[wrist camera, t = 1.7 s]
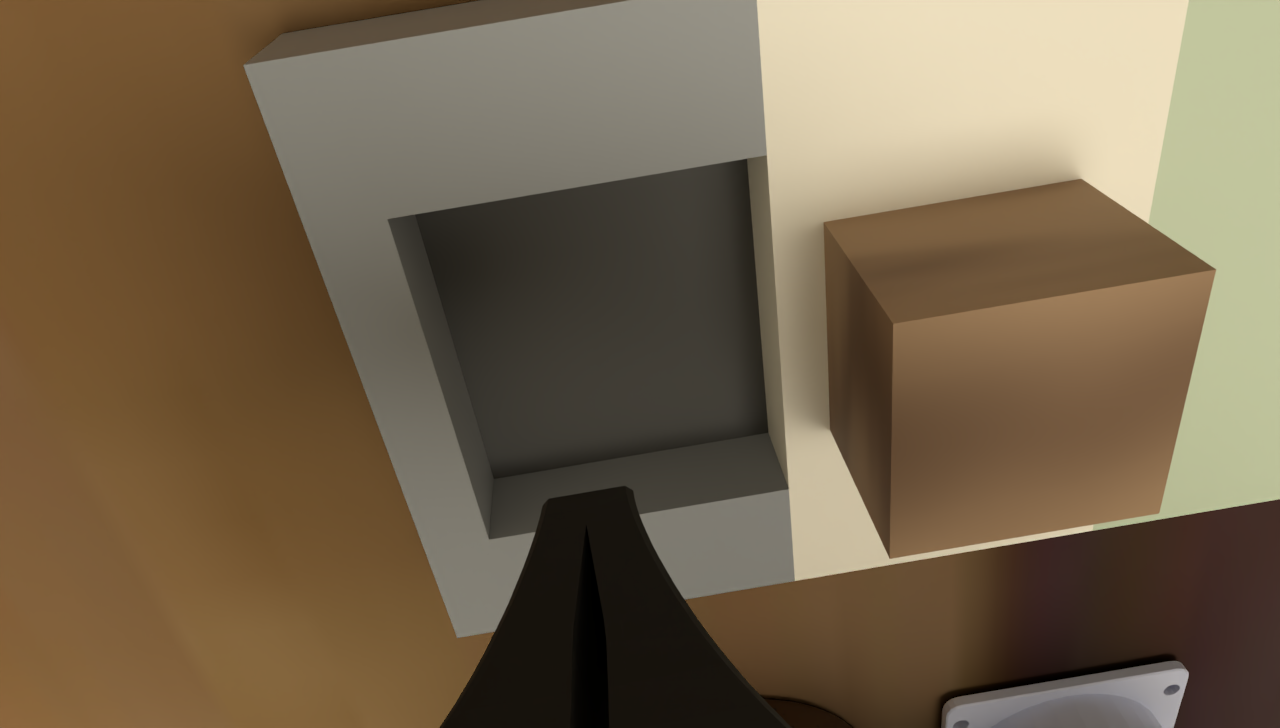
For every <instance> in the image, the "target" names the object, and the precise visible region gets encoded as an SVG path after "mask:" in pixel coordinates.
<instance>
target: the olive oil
mask: <svg viewBox="0 0 1280 728" xmlns="http://www.w3.org/2000/svg"><path fill="white" fill-rule="evenodd" d="M764 700H765V701H766V702H767V703H768V704H769V705H770V706H771V707H772V708H773V709H774V710H775V711H776V712H777V713H778V714H779V715H780V716H781V717H782V718H783V719H784V720H785V721H786V722H787V723H788V724H789V725H790V726H791V727H792V728H852V727H851V726H850V725H849V724H847V723H846V722H845V721H843V720H842V719H840V718H838V717H837V716H835V715H833V714H831V713H828V712H826V711H824V710H821V709H819V708H816V707H813V706H809V705H806V704H802V703H797V702H791V701H784V700H771V699H764Z"/></svg>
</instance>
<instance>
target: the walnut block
mask: <svg viewBox="0 0 1280 728" xmlns="http://www.w3.org/2000/svg"><path fill="white" fill-rule="evenodd" d="M824 253H825V285H826V317H827V349H828V380H829V412H830V431H831V433H832V435H833V438H834V440H835V442H836V444H837V446H838V448H839V451H840V453H841V455H842V457H843V459H844V461H845V464H846V466H847V468H848V470H849V472H850V474H851V477H852V479H853V481H854V483H855V485H856V487H857V489H858V492H859V494H860V496H861V498H862V500H863V502H864V505H865V507H866V509H867V511H868V513H869V515H870V518H871V520H872V522H873V524H874V526H875V528H876V531H877V533H878V535H879V537H880V539H881V541H882V543H883V546H884V548H885V550H886V552H887V554H888V556H889V559H892V558H898V557H904V556H910V555H916V554H922V553H928V552H934V551H940V550H946V549H952V548H958V547H964V546H969V545H975V544H981V543H987V542H993V541H999V540H1005V539H1011V538H1017V537H1023V536H1029V535H1035V534H1041V533H1046V532H1052V531H1058V530H1064V529H1070V528H1076V527H1082V526H1088V525H1094V524H1100V523H1106V522H1112V521H1118V520H1123V519H1129V518H1135V517H1141V516H1147V515H1153V514H1159V512H1160V508H1161V504H1162V500H1163V495H1164V491H1165V487H1166V482H1167V478H1168V474H1169V470H1170V465H1171V461H1172V457H1173V452H1174V448H1175V444H1176V440H1177V435H1178V431H1179V427H1180V422H1181V418H1182V414H1183V410H1184V405H1185V401H1186V397H1187V393H1188V388H1189V384H1190V380H1191V375H1192V371H1193V367H1194V363H1195V358H1196V354H1197V350H1198V345H1199V341H1200V337H1201V333H1202V328H1203V324H1204V320H1205V315H1206V311H1207V307H1208V303H1209V298H1210V294H1211V290H1212V286H1213V281H1214V277H1215V273H1216V269H1215V268H1213V267H1212V266H1210V265H1209V264H1207V263H1206V262H1204V261H1203V260H1201V259H1200V258H1198V257H1197V256H1196V255H1194V254H1193V253H1191V252H1190V251H1188V250H1187V249H1185V248H1184V247H1182V246H1181V245H1179V244H1178V243H1176V242H1175V241H1173V240H1172V239H1170V238H1169V237H1167V236H1166V235H1164V234H1163V233H1161V232H1160V231H1158V230H1157V229H1155V228H1154V227H1152V226H1151V225H1149V224H1148V223H1147V222H1145V221H1144V220H1142V219H1141V218H1139V217H1138V216H1136V215H1135V214H1133V213H1132V212H1130V211H1129V210H1127V209H1126V208H1124V207H1123V206H1121V205H1120V204H1118V203H1117V202H1115V201H1114V200H1112V199H1111V198H1109V197H1108V196H1106V195H1105V194H1103V193H1102V192H1101V191H1099V190H1098V189H1096V188H1095V187H1093V186H1092V185H1090V184H1089V183H1087V182H1086V181H1084V180H1083V179H1077V180H1071V181H1065V182H1059V183H1053V184H1047V185H1041V186H1035V187H1029V188H1023V189H1017V190H1011V191H1005V192H999V193H994V194H988V195H982V196H976V197H970V198H964V199H958V200H952V201H946V202H940V203H934V204H928V205H922V206H916V207H910V208H904V209H898V210H892V211H887V212H881V213H875V214H869V215H863V216H857V217H851V218H845V219H839V220H833V221H827V222H824Z"/></svg>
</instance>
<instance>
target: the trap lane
mask: <svg viewBox="0 0 1280 728" xmlns="http://www.w3.org/2000/svg"><path fill="white" fill-rule="evenodd" d="M243 66H244V69H245V71H246V74H247V77H248V79H249V82H250V85H251V87H252V90H253V93H254V95H255V98H256V101H257V103H258V106H259V109H260V111H261V114H262V117H263V119H264V122H265V125H266V127H267V130H268V133H269V135H270V138H271V141H272V143H273V146H274V149H275V151H276V154H277V157H278V159H279V162H280V165H281V167H282V170H283V173H284V176H285V178H286V181H287V184H288V186H289V189H290V192H291V194H292V197H293V200H294V202H295V205H296V208H297V210H298V213H299V216H300V218H301V221H302V224H303V226H304V229H305V232H306V234H307V237H308V240H309V242H310V245H311V248H312V250H313V253H314V256H315V258H316V261H317V264H318V266H319V269H320V272H321V274H322V277H323V280H324V283H325V285H326V288H327V291H328V293H329V296H330V299H331V301H332V304H333V307H334V309H335V312H336V315H337V317H338V320H339V323H340V325H341V328H342V331H343V333H344V336H345V339H346V341H347V344H348V347H349V349H350V352H351V355H352V357H353V360H354V363H355V365H356V368H357V371H358V373H359V376H360V379H361V381H362V384H363V387H364V390H365V392H366V395H367V398H368V400H369V403H370V406H371V408H372V411H373V414H374V416H375V419H376V422H377V424H378V427H379V430H380V432H381V435H382V438H383V440H384V443H385V446H386V448H387V451H388V454H389V456H390V459H391V462H392V464H393V467H394V470H395V472H396V475H397V478H398V480H399V483H400V486H401V488H402V491H403V494H404V496H405V499H406V502H407V505H408V507H409V510H410V513H411V515H412V518H413V521H414V523H415V526H416V529H417V531H418V534H419V537H420V539H421V542H422V545H423V547H424V550H425V553H426V555H427V558H428V561H429V563H430V566H431V569H432V571H433V574H434V577H435V579H436V582H437V585H438V587H439V590H440V593H441V595H442V598H443V601H444V603H445V606H446V609H447V612H448V614H449V617H450V620H451V622H452V625H453V628H454V630H455V633H456V636H457V638H460V637H466V636H472V635H478V634H484V633H489V632H495V630H496V628H497V626H498V624H499V622H500V620H501V618H502V616H503V614H504V612H505V610H506V608H507V605H508V603H509V601H510V598H511V596H512V593H513V591H514V589H515V586H516V584H517V581H518V579H519V576H520V574H521V572H522V569H523V567H524V564H525V561H526V558H527V556H528V553H529V550H530V547H531V544H532V541H533V538H534V535H535V532H536V529H537V525H538V522H539V518H540V515H541V510H542V506H543V504H544V503H545V502H546V501H547V500H548V499H549V498H555V497H561V496H567V495H573V494H579V493H585V492H591V491H596V490H602V489H608V488H614V487H620V486H627V487H628V488H630V489H632V490H633V492H634V497H635V502H636V506H637V509H638V512H639V515H640V518H641V520H642V523H643V525H644V527H645V530H646V532H647V534H648V536H649V538H650V541H651V543H652V545H653V547H654V549H655V551H656V552H657V554H658V556H659V558H660V560H661V562H662V563H663V565H664V567H665V569H666V570H667V572H668V574H669V575H670V577H671V579H672V581H673V582H674V584H675V586H676V587H677V589H678V590H679V592H680V594H681V595H682V597H683V598H684V600H685V599H691V598H697V597H703V596H709V595H715V594H721V593H726V592H732V591H738V590H744V589H750V588H756V587H762V586H768V585H774V584H780V583H786V582H792V581H798V580H803V579H809V578H815V577H821V576H827V575H833V574H839V573H845V572H851V571H857V570H863V569H869V568H875V567H880V566H886V565H892V564H898V563H904V562H910V561H916V560H922V559H928V558H934V557H940V556H946V555H952V554H957V553H963V552H969V551H975V550H981V549H987V548H993V547H999V546H1005V545H1011V544H1017V543H1023V542H1029V541H1034V540H1040V539H1046V538H1052V537H1058V536H1064V535H1070V534H1076V533H1082V532H1088V531H1094V530H1100V529H1106V528H1111V527H1117V526H1123V525H1129V524H1135V523H1141V522H1147V521H1153V520H1159V519H1165V518H1171V517H1177V516H1183V515H1188V514H1194V513H1200V512H1206V511H1212V510H1218V509H1224V508H1230V507H1236V506H1242V505H1248V504H1254V503H1260V502H1265V501H1271V500H1277V499H1280V0H479V1H473V2H467V3H461V4H456V5H450V6H444V7H438V8H432V9H426V10H420V11H414V12H408V13H402V14H396V15H390V16H384V17H378V18H372V19H366V20H360V21H354V22H348V23H342V24H336V25H330V26H324V27H318V28H312V29H307V30H301V31H295V32H289V33H283V34H281V35H280V36H279V37H277V38H276V39H275V40H274V41H272V42H271V43H270V44H269V45H267V46H266V47H265V48H264V49H263V50H261V51H260V52H259V53H258V54H256V55H255V56H254V57H253V58H251V59H250V60H249V61H248V62H247V63H245V64H244V65H243ZM1077 179H1083V180H1084V181H1086V182H1087V183H1089V184H1090V185H1092V186H1093V187H1095V188H1096V189H1098V190H1099V191H1101V192H1102V193H1103V194H1105V195H1106V196H1108V197H1109V198H1111V199H1112V200H1114V201H1115V202H1117V203H1118V204H1120V205H1121V206H1123V207H1124V208H1126V209H1127V210H1129V211H1130V212H1132V213H1133V214H1135V215H1136V216H1138V217H1139V218H1141V219H1142V220H1144V221H1145V222H1147V223H1148V224H1149V225H1151V226H1152V227H1154V228H1155V229H1157V230H1158V231H1160V232H1161V233H1163V234H1164V235H1166V236H1167V237H1169V238H1170V239H1172V240H1173V241H1175V242H1176V243H1178V244H1179V245H1181V246H1182V247H1184V248H1185V249H1187V250H1188V251H1190V252H1191V253H1193V254H1194V255H1196V256H1197V257H1198V258H1200V259H1201V260H1203V261H1204V262H1206V263H1207V264H1209V265H1210V266H1212V267H1213V268H1215V269H1216V273H1215V277H1214V281H1213V286H1212V290H1211V294H1210V298H1209V303H1208V307H1207V311H1206V315H1205V320H1204V324H1203V328H1202V333H1201V337H1200V341H1199V345H1198V350H1197V354H1196V358H1195V363H1194V367H1193V371H1192V375H1191V380H1190V384H1189V388H1188V393H1187V397H1186V401H1185V405H1184V410H1183V414H1182V418H1181V422H1180V427H1179V431H1178V435H1177V440H1176V444H1175V448H1174V452H1173V457H1172V461H1171V465H1170V470H1169V474H1168V478H1167V482H1166V487H1165V491H1164V495H1163V500H1162V504H1161V508H1160V512H1159V514H1153V515H1147V516H1141V517H1135V518H1129V519H1123V520H1118V521H1112V522H1106V523H1100V524H1094V525H1088V526H1082V527H1076V528H1070V529H1064V530H1058V531H1052V532H1046V533H1041V534H1035V535H1029V536H1023V537H1017V538H1011V539H1005V540H999V541H993V542H987V543H981V544H975V545H969V546H964V547H958V548H952V549H946V550H940V551H934V552H928V553H922V554H916V555H910V556H904V557H898V558H892V559H889V556H888V554H887V552H886V550H885V548H884V546H883V543H882V541H881V539H880V537H879V535H878V533H877V531H876V528H875V526H874V524H873V522H872V520H871V518H870V515H869V513H868V511H867V509H866V507H865V505H864V502H863V500H862V498H861V496H860V494H859V492H858V489H857V487H856V485H855V483H854V481H853V479H852V477H851V474H850V472H849V470H848V468H847V466H846V464H845V461H844V459H843V457H842V455H841V453H840V451H839V448H838V446H837V444H836V442H835V440H834V438H833V435H832V433H831V431H830V412H829V380H828V349H827V317H826V285H825V253H824V222H827V221H833V220H839V219H845V218H851V217H857V216H863V215H869V214H875V213H881V212H887V211H892V210H898V209H904V208H910V207H916V206H922V205H928V204H934V203H940V202H946V201H952V200H958V199H964V198H970V197H976V196H982V195H988V194H994V193H999V192H1005V191H1011V190H1017V189H1023V188H1029V187H1035V186H1041V185H1047V184H1053V183H1059V182H1065V181H1071V180H1077Z"/></svg>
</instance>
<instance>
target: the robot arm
mask: <svg viewBox="0 0 1280 728" xmlns="http://www.w3.org/2000/svg"><path fill="white" fill-rule="evenodd" d="M1188 677H1189V672H1188V671H1187V670H1186V668H1185V667H1184V666H1183V664H1182V663H1181V662H1178V661H1166V662H1160V663H1155V664H1149V665H1143V666H1137V667H1131V668H1125V669H1119V670H1113V671H1107V672H1101V673H1095V674H1089V675H1084V676H1078V677H1072V678H1066V679H1060V680H1054V681H1048V682H1042V683H1036V684H1030V685H1024V686H1018V687H1013V688H1007V689H1001V690H995V691H989V692H983V693H977V694H971V695H965V696H959V697H955V698H952V699H950V700H949V701H947V702H946V703H945V704H944V706H943V709H942V723H941V728H1174V724H1175V721H1176V717H1177V714H1178V711H1179V707H1180V704H1181V701H1182V697H1183V694H1184V690H1185V687H1186V684H1187V680H1188ZM440 728H792V727H791V726H790V725H789V724H788V723H787V722H786V721H785V720H784V719H783V718H782V717H781V716H780V715H779V714H778V713H777V712H776V711H775V710H774V709H773V708H772V707H771V706H770V705H769V704H768V703H767V702H766V701H765V700H764V699H763V698H762V697H761V696H760V695H759V694H758V692H757V691H756V690H755V689H754V688H753V687H752V686H751V685H750V684H749V683H748V682H747V681H746V679H745V678H744V677H743V676H742V675H741V674H740V672H739V671H738V670H737V669H736V668H735V667H734V665H733V664H732V663H731V662H730V661H729V660H728V658H727V657H726V656H725V655H724V653H723V652H722V651H721V650H720V648H719V647H718V646H717V645H716V643H715V642H714V641H713V639H712V638H711V637H710V635H709V634H708V633H707V631H706V630H705V629H704V627H703V626H702V625H701V623H700V622H699V620H698V619H697V618H696V616H695V615H694V613H693V612H692V610H691V609H690V607H689V606H688V604H687V603H686V601H685V600H684V598H683V597H682V595H681V594H680V592H679V590H678V589H677V587H676V586H675V584H674V582H673V581H672V579H671V577H670V575H669V574H668V572H667V570H666V569H665V567H664V565H663V563H662V562H661V560H660V558H659V556H658V554H657V552H656V551H655V549H654V547H653V545H652V543H651V541H650V538H649V536H648V534H647V532H646V530H645V527H644V525H643V523H642V520H641V518H640V515H639V512H638V509H637V506H636V502H635V497H634V492H633V490H632V489H630V488H628V487H627V486H620V487H614V488H608V489H602V490H596V491H591V492H585V493H579V494H573V495H567V496H561V497H555V498H549V499H548V500H547V501H546V502H545V503H544V504H543V506H542V510H541V515H540V518H539V522H538V525H537V529H536V532H535V535H534V538H533V541H532V544H531V547H530V550H529V553H528V556H527V558H526V561H525V564H524V567H523V569H522V572H521V574H520V576H519V579H518V581H517V584H516V586H515V589H514V591H513V593H512V596H511V598H510V601H509V603H508V605H507V608H506V610H505V612H504V614H503V616H502V618H501V620H500V622H499V624H498V626H497V628H496V630H495V633H494V635H493V637H492V639H491V641H490V643H489V645H488V647H487V649H486V651H485V653H484V655H483V657H482V658H481V660H480V662H479V664H478V666H477V668H476V669H475V671H474V673H473V675H472V677H471V678H470V680H469V682H468V683H467V685H466V687H465V688H464V690H463V692H462V693H461V695H460V697H459V698H458V700H457V702H456V703H455V705H454V707H453V708H452V710H451V711H450V713H449V714H448V716H447V717H446V719H445V720H444V722H443V723H442V725H441V726H440Z"/></svg>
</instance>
